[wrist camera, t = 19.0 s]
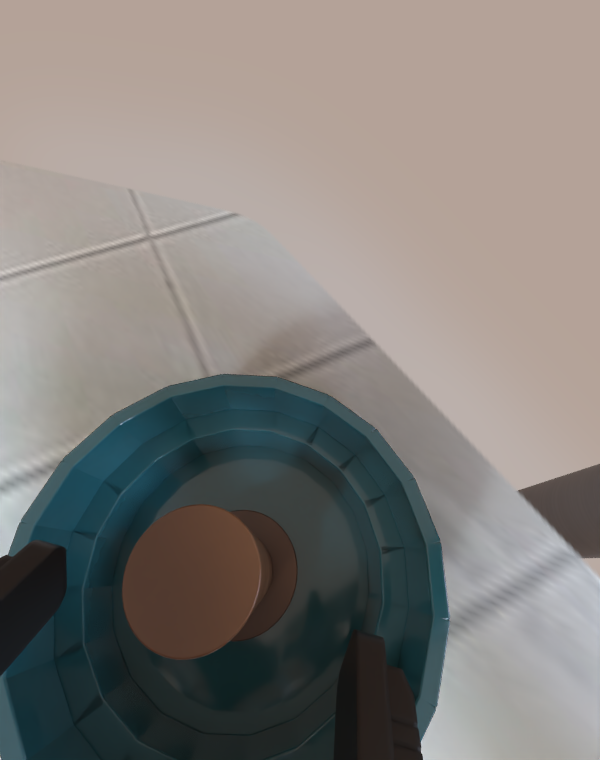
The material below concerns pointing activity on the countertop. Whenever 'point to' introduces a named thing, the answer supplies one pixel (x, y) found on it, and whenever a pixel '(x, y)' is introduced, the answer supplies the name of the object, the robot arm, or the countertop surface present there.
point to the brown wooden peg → (207, 580)
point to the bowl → (236, 658)
